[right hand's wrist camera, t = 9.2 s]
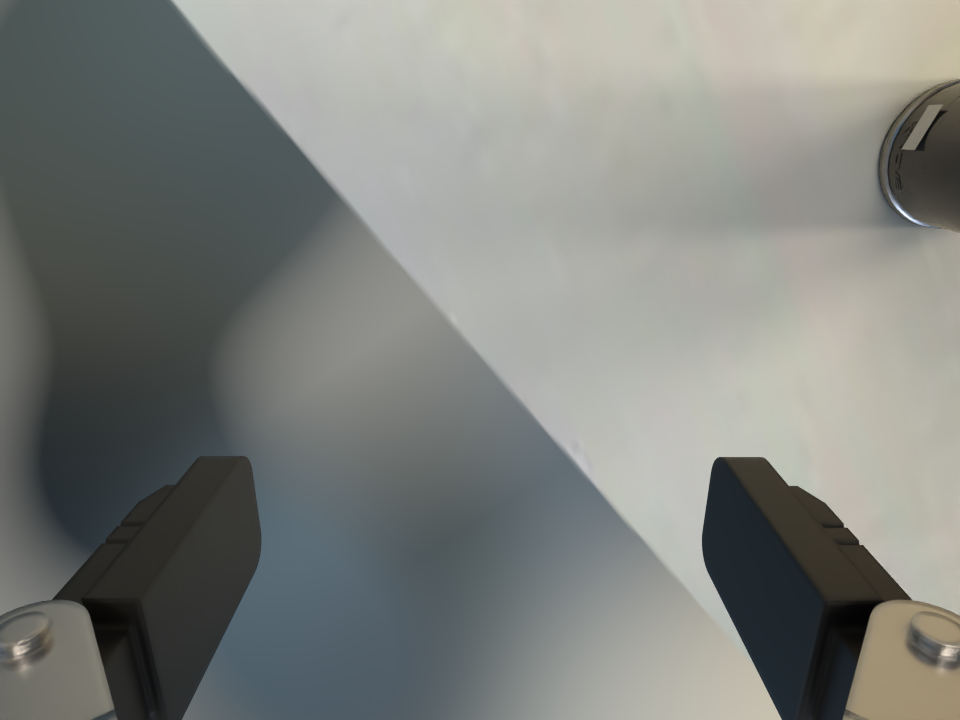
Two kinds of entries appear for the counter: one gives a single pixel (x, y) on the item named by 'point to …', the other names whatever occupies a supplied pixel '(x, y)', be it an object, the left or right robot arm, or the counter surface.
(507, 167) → the counter surface
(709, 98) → the counter surface
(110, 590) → the right robot arm
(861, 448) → the counter surface
